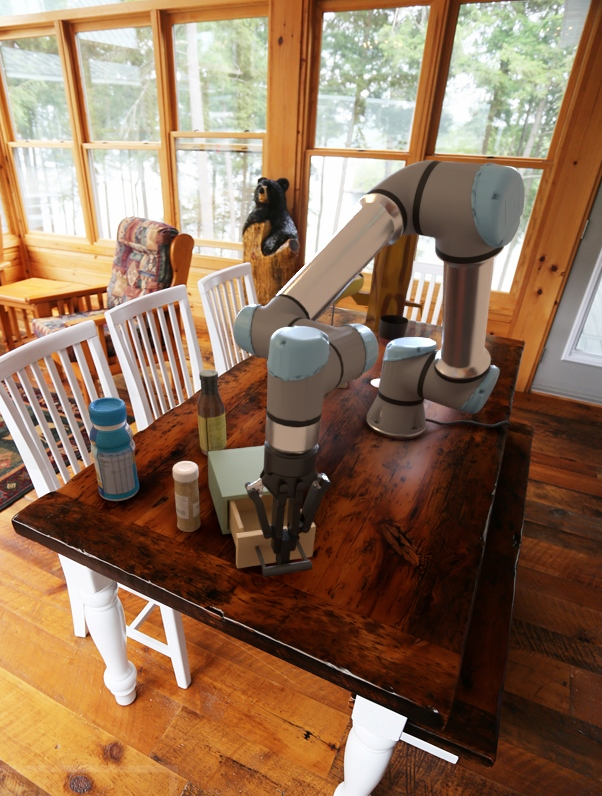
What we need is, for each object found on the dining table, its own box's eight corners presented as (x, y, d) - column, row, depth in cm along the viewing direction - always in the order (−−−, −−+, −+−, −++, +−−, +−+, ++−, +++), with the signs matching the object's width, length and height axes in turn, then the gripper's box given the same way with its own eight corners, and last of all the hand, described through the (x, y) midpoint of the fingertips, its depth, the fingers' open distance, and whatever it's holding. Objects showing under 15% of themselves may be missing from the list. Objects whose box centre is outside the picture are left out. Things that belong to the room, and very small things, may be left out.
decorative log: (360, 209, 192) (442, 216, 185) (347, 316, 214) (419, 325, 207) (354, 214, 180) (441, 221, 173) (340, 326, 203) (417, 336, 195)
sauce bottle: (230, 447, 122) (230, 369, 111) (220, 460, 117) (219, 380, 106) (205, 442, 123) (203, 365, 113) (194, 454, 118) (190, 375, 108)
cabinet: (297, 523, 99) (300, 487, 94) (222, 534, 95) (222, 497, 90) (275, 478, 111) (277, 444, 107) (208, 486, 108) (207, 451, 103)
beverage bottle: (119, 508, 101) (105, 419, 90) (89, 493, 105) (73, 406, 94) (148, 487, 107) (139, 402, 96) (119, 474, 111) (107, 390, 100)
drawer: (326, 584, 84) (330, 553, 80) (246, 598, 81) (247, 567, 77) (288, 506, 101) (290, 478, 98) (221, 515, 98) (221, 487, 95)
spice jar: (205, 528, 97) (202, 469, 89) (183, 536, 94) (179, 476, 87) (194, 515, 100) (191, 457, 93) (172, 522, 98) (168, 464, 90)
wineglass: (367, 386, 154) (377, 321, 143) (373, 376, 161) (383, 313, 150) (393, 391, 152) (405, 325, 141) (398, 380, 159) (410, 317, 148)
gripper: (325, 424, 75) (311, 543, 88) (240, 432, 72) (238, 555, 85) (345, 450, 69) (327, 574, 82) (252, 460, 66) (248, 587, 79)
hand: (282, 564), depth 83 cm, fingers closed
